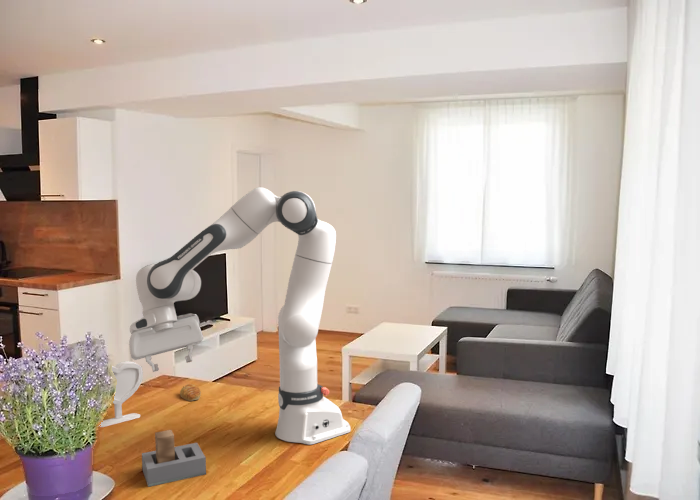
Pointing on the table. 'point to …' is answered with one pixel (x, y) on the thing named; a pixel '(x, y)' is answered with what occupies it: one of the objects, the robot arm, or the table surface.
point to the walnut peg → (164, 446)
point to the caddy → (174, 465)
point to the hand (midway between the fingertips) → (172, 366)
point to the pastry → (190, 392)
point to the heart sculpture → (124, 389)
